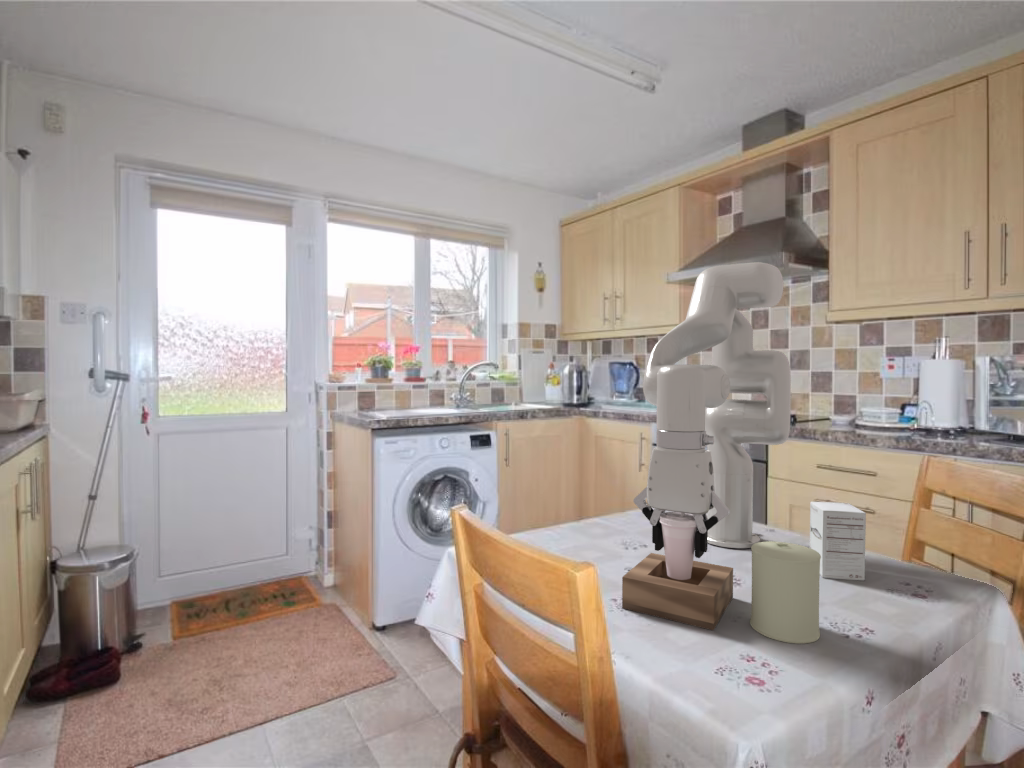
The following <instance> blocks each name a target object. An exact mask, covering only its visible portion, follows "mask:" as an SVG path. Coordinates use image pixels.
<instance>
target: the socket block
mask: <svg viewBox="0 0 1024 768" xmlns="http://www.w3.org/2000/svg"><path fill="white" fill-rule="evenodd" d="M621 580H622V582H621V583H622V587H621V588H622V589H621V590H622V592H621V594H622V595H621V596H622V597H621V604H622V605H621V609H624V610H629V611H633V612H635V613H640V614H645V615H647V616H648V615H649V616H654V617H657V618H661V619H665V620H668V621H669V620H670V621H674V622H676V623H677V622H678V623H682V624H685V625H690V626H693V627H697V628H701V629H707V630H709V631H714V630H715V629H716V628H717V625H718V624H719V622H720V620H721V619H722V617H723V615H724V613H725V612H726V610H727V608H728V607H729V605H730V604H731V602H732V600H733V599H734V567H731V566H730V567H729V566H724V565H720V564H713V563H708V562H702V561H697V560H693V566H692V573H691V578H690V579H687V580H678V579H673V578H670V577H669V576H668V575H667V568H666V559H665V554H659V553H653V552H650V553H649V554H648V555H647V556H645V558H643V559H642V560H641V561H639V562H638V563H637V564H636V565H635V566H634V567H632V568H631V569H629V571H628V572H627V573H625V574H624V575H623V576H622V579H621Z"/></svg>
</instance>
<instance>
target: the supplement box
mask: <svg viewBox="0 0 1024 768" xmlns="http://www.w3.org/2000/svg"><path fill="white" fill-rule="evenodd" d="M809 504H810V505H809V509H810V510H809V511H810V512H809V548H811V549H813V550H815V551H817V552H818V553H819V554H820V555H821V559H820V576H821V578H823V579H824V578H825V579H833V580H834V579H835V580H836V579H837V580H850V581H865V580H866V579H865V577H866V574H865V573H866V535H867V534H866V533H867V532H866V528H867V525H866V520H867V512H865V511H863V510H862V509H860V508H858V507H856V506H854V505H852V503H849V502H838V501H837V502H836V501H835V502H834V501H833V502H830V501H810V503H809Z"/></svg>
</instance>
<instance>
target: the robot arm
mask: <svg viewBox="0 0 1024 768" xmlns="http://www.w3.org/2000/svg"><path fill="white" fill-rule="evenodd" d="M693 286H694V287H693V290H692V294H691V298H690V301H689V304H688V308H687V312H686V317H685V320H683V321H682V322H680V323H679V324H678V325H676V326H674V327H673V328H672V329H670V330H669V331H668V332H667V333H666V334H664V336H662V337H661V338H660V339H659V340H658V342H656V344H655V345H654V347H653V348H652V350H651V351H650V354H649V358H648V361H647V364H646V368H645V371H644V376H643V382H642V383H643V384H642V390H643V391H642V392H643V395H644V398H645V400H646V401H647V402H648V403H649V404H650V405H653V406H655V407H656V446H655V447H653V448H652V450H651V454H650V460H649V466H648V474H647V482H646V487H645V488H644V489H643V490H641V492H640V493H638V494H637V495H636V496H635V497H634V498H633V503H634V504H635V505H636V506H637V509H639V510H640V511H641V513H642V514H643V515H644V516H645V517H646V519H647V521H649V524H650V525H651V526H652V528H651V529H652V531H651V535H652V536H651V539H652V541H651V542H652V544H654V551H656V552H659V551H661V550H662V549H664V542H663V533H662V524H661V523H660V522H659V519H660V515H661V514H662V513H665V512H666V511H667V512H680V513H687V514H693V516H694V519H695V521H696V524H697V527H698V528H697V532H696V533H695V551H694V558H697V559H700V558H702V556H703V555H704V554H705V553H707V551H708V544H710V545H713V546H716V547H720V548H728V549H751V547H752V545H753V544H755V543H758V542H761V538H760V536H758V535H757V534H755V533H753V527H754V526H753V522H754V521H753V520H754V518H753V516H754V511H753V510H754V509H753V507H754V506H753V504H754V503H753V502H754V462H753V460H752V457H751V456H750V455H749V453H748V452H747V450H746V449H744V447H743V445H742V444H750V445H751V444H754V445H768V446H769V445H772V446H778V445H783V444H784V443H785V442H787V440H788V438H789V435H790V432H791V393H792V392H791V391H792V390H791V388H792V387H791V381H792V380H791V378H792V377H791V366H790V362H789V358H788V357H787V355H786V354H785V353H783V352H782V351H779V350H773V349H771V350H770V349H767V350H766V349H765V350H764V349H763V350H759V349H758V350H755V349H754V329H753V326H752V324H751V322H750V321H749V320H748V318H747V317H746V316H745V315H744V314H743V313H742V312H741V311H740V310H741V309H742V310H743V309H757V308H758V309H759V308H773V307H776V306H777V305H778V304H779V303H780V301H781V299H782V298H783V293H784V278H783V274H782V272H781V271H780V269H779V267H777V266H776V265H774V264H771V263H767V262H761V261H757V262H754V261H753V262H741V263H733V264H731V263H730V264H721V265H714V266H710V267H708V268H706V269H704V270H702V271H701V272H700V273H699V274H698V276H697V278H696V280H695V283H694V285H693ZM710 348H711V364H677V362H679V361H681V360H683V359H685V358H687V357H690V356H692V355H694V354H698V353H700V352H703V351H704V352H705V351H706V350H708V349H710ZM730 394H745V395H746V394H747V395H748V394H750V395H753V394H754V395H763V396H765V397H766V400H762V399H761V400H759V399H757V400H755V399H753V400H752V399H751V400H750V399H737V398H736V399H732V398H731V399H730V398H729V396H730ZM728 398H729V399H728ZM706 447H707V449H706Z"/></svg>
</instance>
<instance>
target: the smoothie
mask: <svg viewBox="0 0 1024 768" xmlns="http://www.w3.org/2000/svg"><path fill="white" fill-rule="evenodd" d="M659 522H660V523H661V524H662V533H663V542H664V547H663V549H664V555H665V559H666V568H667V575H668V576H669V577H670V578H673V579H678V580H687V579H690V578H691V573H692V566H693V561H694V558H695V533H696V532H697V528H698V527H697V524H696V521H695V519H694V516H693V514H687V513H680V512H673V511H667V512H666V511H665V513H662V514H661V515H660V519H659Z"/></svg>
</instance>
